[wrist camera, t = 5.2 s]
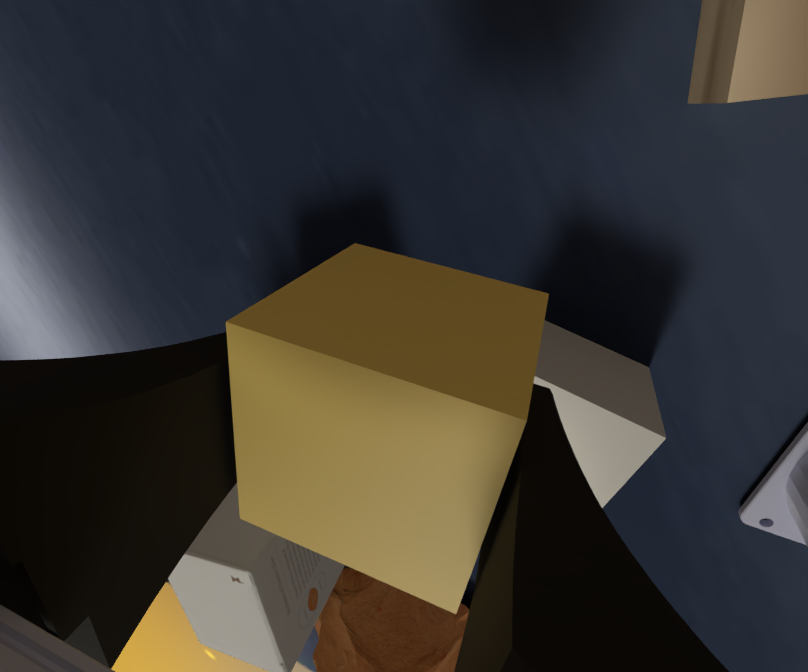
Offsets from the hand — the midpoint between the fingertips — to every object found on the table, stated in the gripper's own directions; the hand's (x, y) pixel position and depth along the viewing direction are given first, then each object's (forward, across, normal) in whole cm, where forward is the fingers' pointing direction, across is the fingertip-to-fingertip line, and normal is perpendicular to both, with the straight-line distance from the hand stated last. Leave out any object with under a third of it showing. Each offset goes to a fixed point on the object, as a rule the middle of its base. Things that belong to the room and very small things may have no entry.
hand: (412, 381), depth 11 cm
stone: (+11, -1, +30) cm, 32 cm away
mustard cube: (+2, 0, 0) cm, 2 cm away
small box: (+11, +7, +16) cm, 20 cm away
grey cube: (+10, -5, +5) cm, 13 cm away
